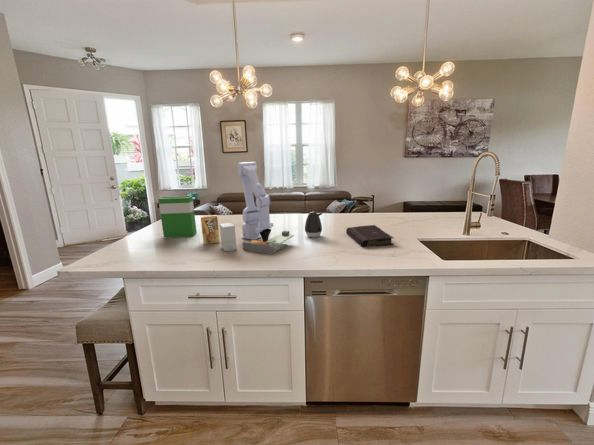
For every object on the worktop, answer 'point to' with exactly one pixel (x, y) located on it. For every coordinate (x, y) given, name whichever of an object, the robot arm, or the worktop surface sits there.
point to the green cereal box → (177, 216)
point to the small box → (228, 236)
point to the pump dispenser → (313, 224)
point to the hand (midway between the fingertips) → (265, 242)
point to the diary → (369, 236)
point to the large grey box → (262, 247)
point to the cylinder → (259, 242)
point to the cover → (280, 238)
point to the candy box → (210, 229)
